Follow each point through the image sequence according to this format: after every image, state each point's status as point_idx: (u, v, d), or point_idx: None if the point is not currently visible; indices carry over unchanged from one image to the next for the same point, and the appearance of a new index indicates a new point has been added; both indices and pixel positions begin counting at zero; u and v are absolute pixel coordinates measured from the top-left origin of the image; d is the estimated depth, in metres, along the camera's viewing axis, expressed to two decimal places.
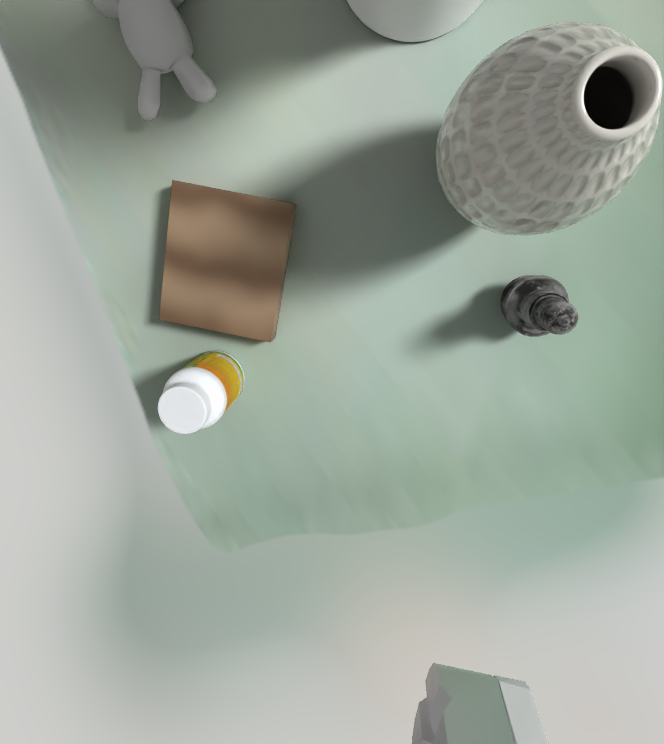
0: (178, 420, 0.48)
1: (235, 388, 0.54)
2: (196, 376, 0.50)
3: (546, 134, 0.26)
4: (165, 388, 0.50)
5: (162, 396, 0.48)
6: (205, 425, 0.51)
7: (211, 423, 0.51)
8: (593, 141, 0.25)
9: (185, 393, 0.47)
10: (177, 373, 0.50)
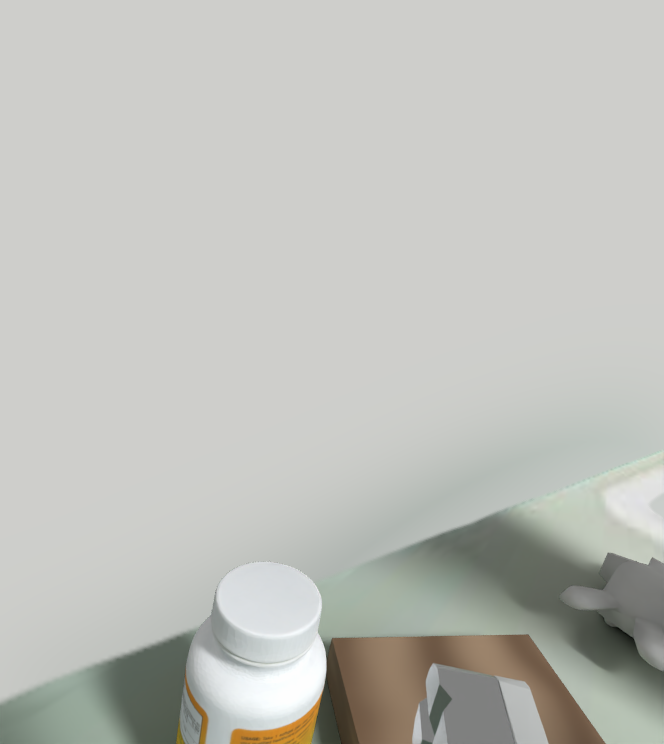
0: (246, 590, 0.22)
1: None
2: (319, 645, 0.24)
3: None
4: None
5: (286, 566, 0.25)
6: (211, 677, 0.21)
7: (217, 691, 0.21)
8: None
9: (309, 597, 0.23)
10: None
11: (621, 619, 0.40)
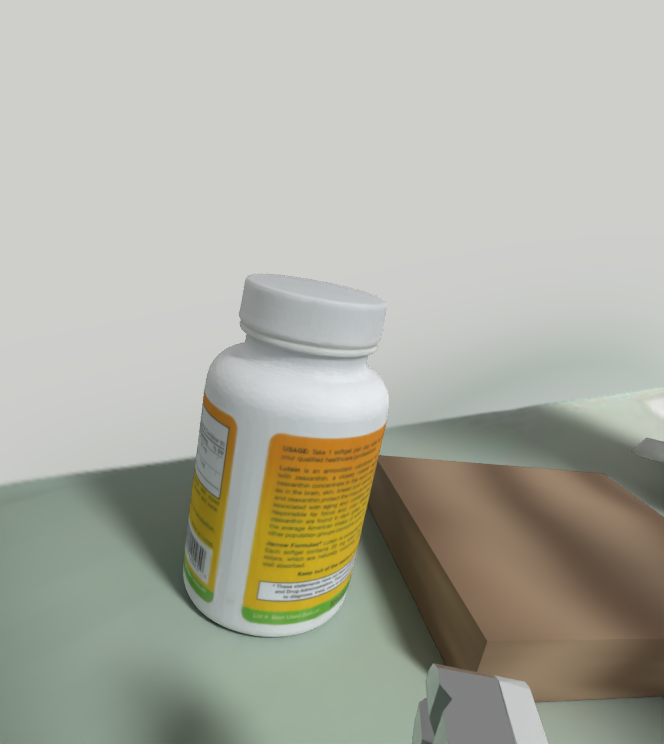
0: (286, 282, 0.17)
1: (312, 534, 0.16)
2: None
3: None
4: None
5: (334, 284, 0.19)
6: (240, 374, 0.16)
7: (249, 386, 0.15)
8: None
9: (369, 297, 0.17)
10: None
11: None
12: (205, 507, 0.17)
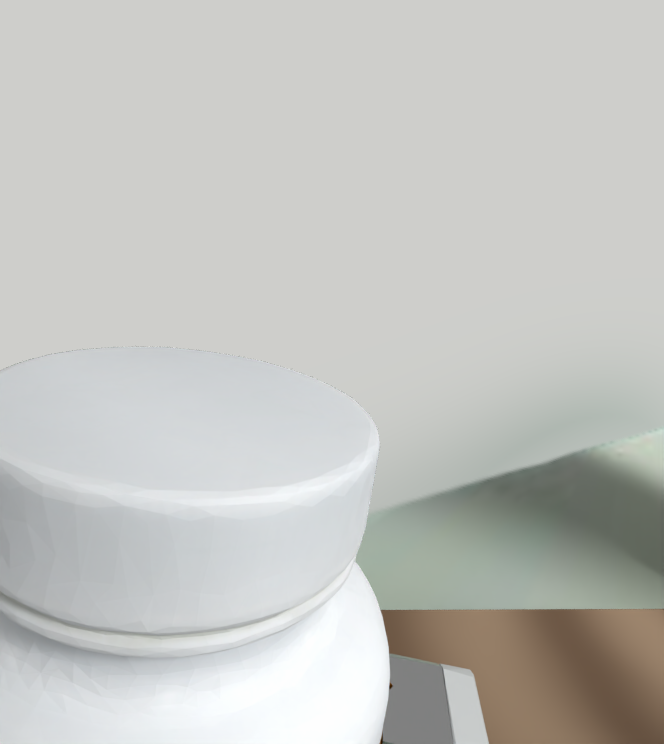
0: (109, 383, 0.06)
1: None
2: (363, 588, 0.08)
3: None
4: None
5: (260, 362, 0.08)
6: None
7: None
8: None
9: (335, 414, 0.07)
10: None
11: None
12: None
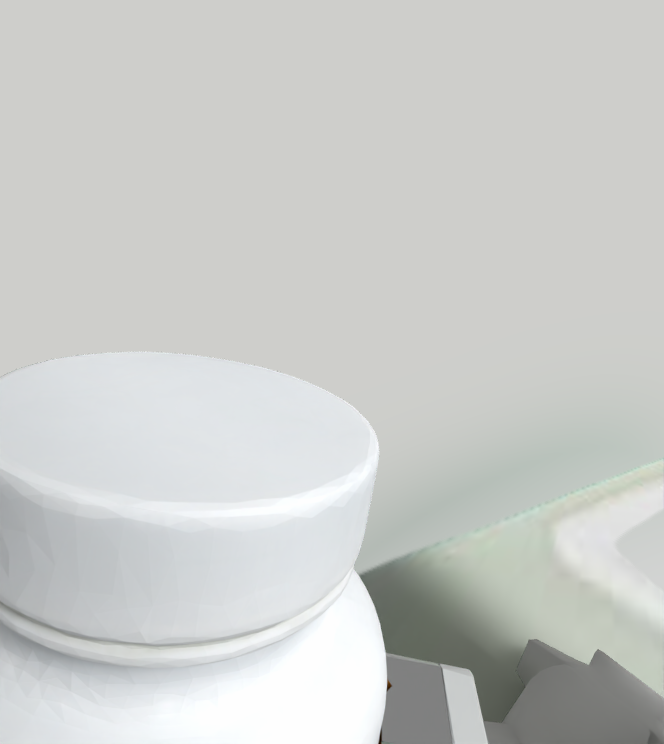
0: (108, 391, 0.06)
1: None
2: (361, 596, 0.08)
3: None
4: None
5: (260, 367, 0.08)
6: None
7: None
8: None
9: (335, 423, 0.07)
10: None
11: None
12: None
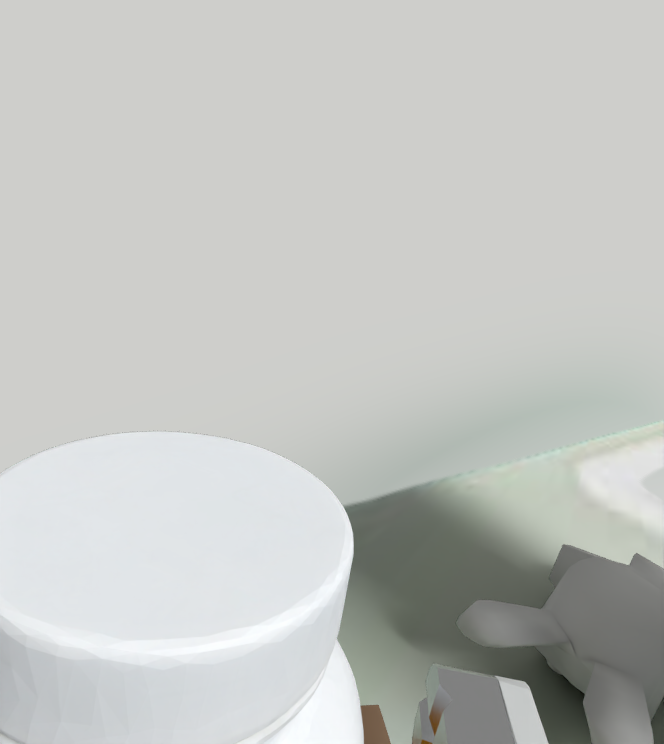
0: (95, 491, 0.07)
1: None
2: (340, 673, 0.08)
3: None
4: None
5: (245, 444, 0.09)
6: None
7: None
8: None
9: (312, 517, 0.07)
10: None
11: (570, 664, 0.21)
12: None
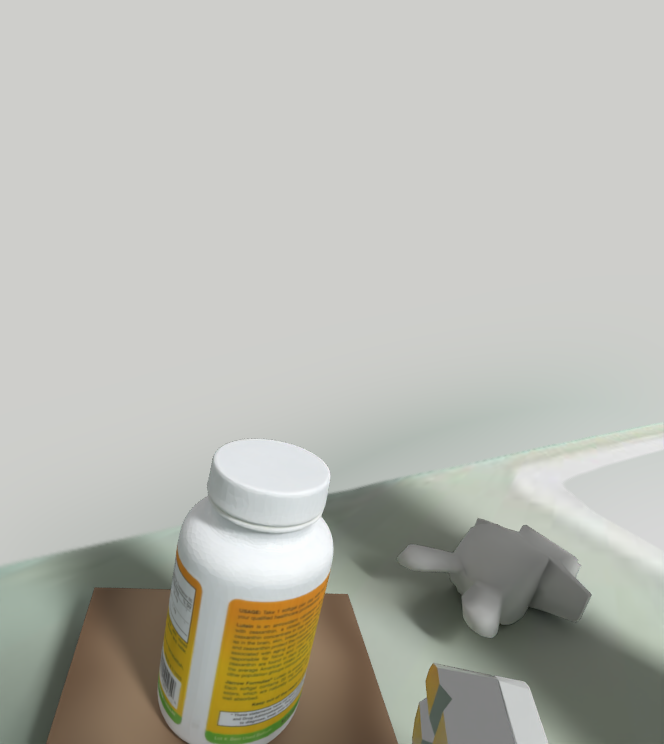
0: (247, 457, 0.20)
1: (264, 673, 0.20)
2: (325, 528, 0.21)
3: None
4: None
5: (290, 444, 0.22)
6: (206, 545, 0.19)
7: (213, 558, 0.19)
8: None
9: (317, 468, 0.21)
10: None
11: (464, 584, 0.35)
12: (176, 646, 0.20)
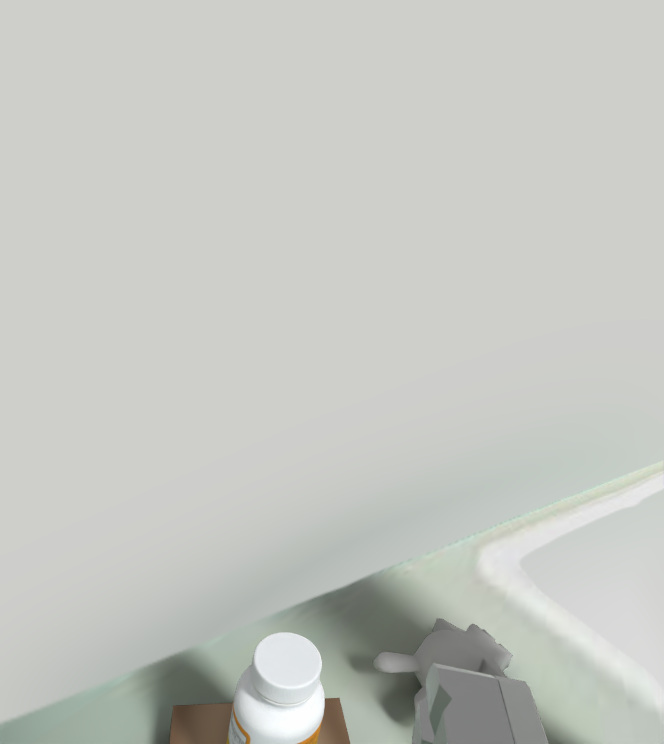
0: (273, 655, 0.35)
1: None
2: (319, 689, 0.36)
3: None
4: None
5: (298, 635, 0.37)
6: (251, 712, 0.34)
7: (256, 721, 0.33)
8: None
9: (313, 659, 0.35)
10: None
11: (421, 680, 0.50)
12: None
